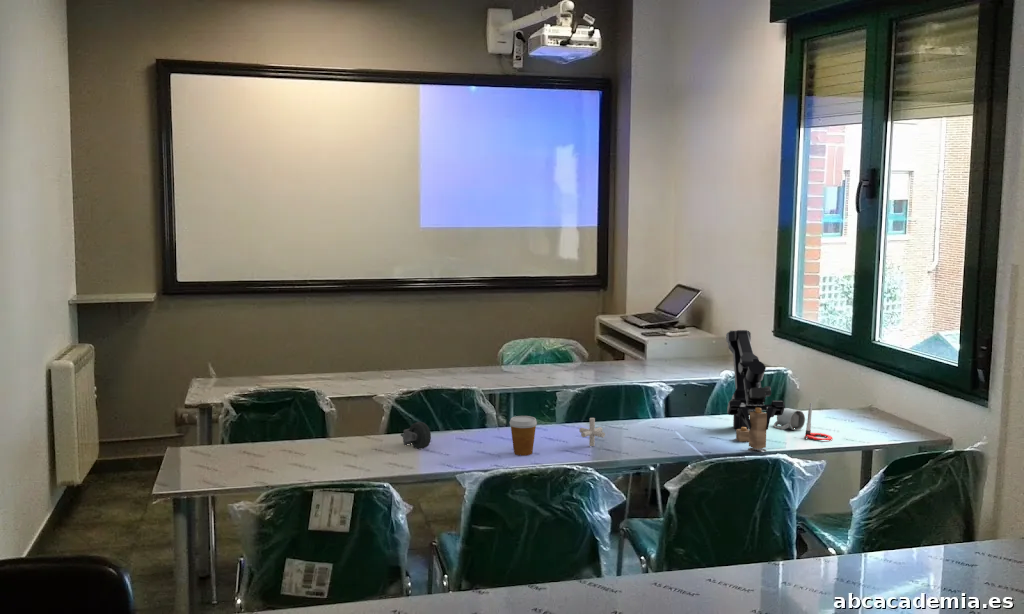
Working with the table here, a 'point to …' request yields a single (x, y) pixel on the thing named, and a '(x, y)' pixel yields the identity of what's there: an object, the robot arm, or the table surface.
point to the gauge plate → (754, 448)
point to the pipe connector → (592, 432)
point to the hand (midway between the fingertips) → (758, 429)
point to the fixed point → (742, 434)
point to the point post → (757, 429)
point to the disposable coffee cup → (523, 434)
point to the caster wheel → (417, 435)
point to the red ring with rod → (808, 428)
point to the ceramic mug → (790, 419)
